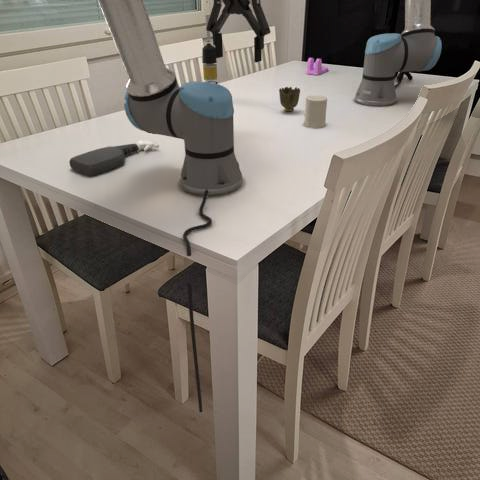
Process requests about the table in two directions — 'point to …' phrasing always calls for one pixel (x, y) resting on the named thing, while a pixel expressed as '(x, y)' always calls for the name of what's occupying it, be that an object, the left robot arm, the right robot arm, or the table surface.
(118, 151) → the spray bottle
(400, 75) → the squiggle
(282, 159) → the table surface
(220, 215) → the table surface
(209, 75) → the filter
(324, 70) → the bracket
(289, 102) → the cup
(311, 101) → the canister
